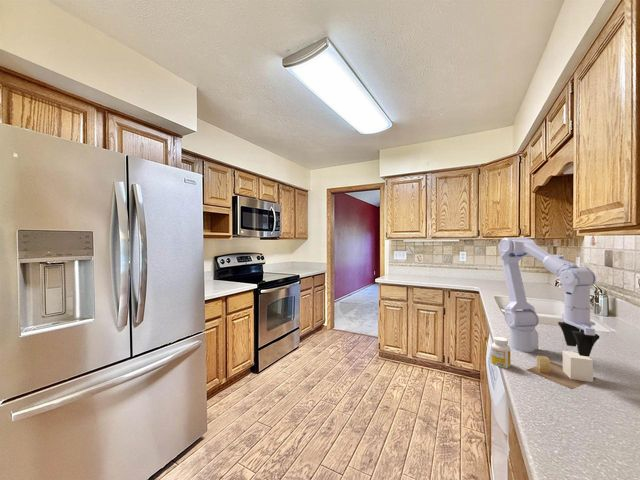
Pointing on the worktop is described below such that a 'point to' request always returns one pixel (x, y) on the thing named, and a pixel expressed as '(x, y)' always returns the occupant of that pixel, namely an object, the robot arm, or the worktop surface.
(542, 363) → the post
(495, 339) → the supplement bottle
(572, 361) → the cream rectangular block
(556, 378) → the board
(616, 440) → the worktop surface
